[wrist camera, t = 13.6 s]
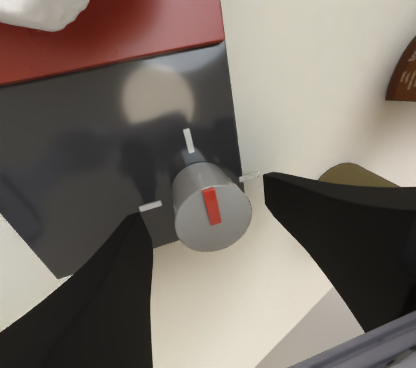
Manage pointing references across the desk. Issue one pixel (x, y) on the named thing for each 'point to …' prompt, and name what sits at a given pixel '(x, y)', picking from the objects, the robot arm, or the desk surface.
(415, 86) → the food container
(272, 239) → the desk surface
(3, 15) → the white bottle
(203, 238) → the hob knob
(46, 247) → the hob
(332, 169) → the olive pawn
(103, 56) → the plate
